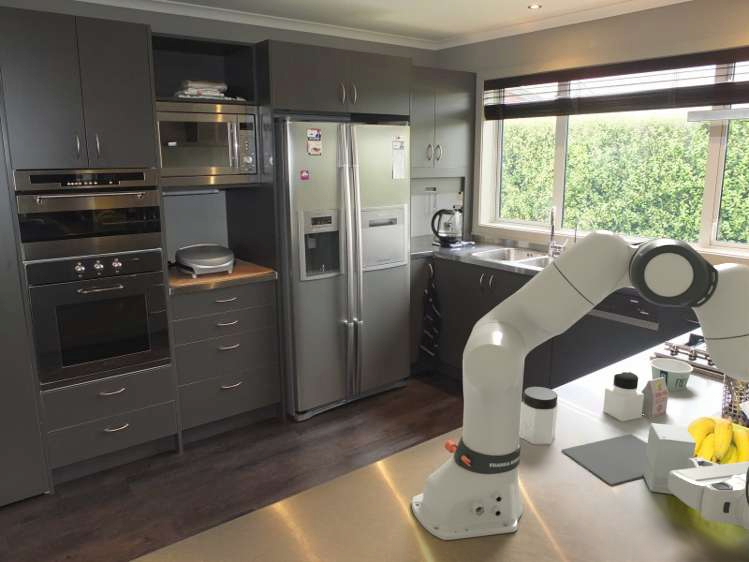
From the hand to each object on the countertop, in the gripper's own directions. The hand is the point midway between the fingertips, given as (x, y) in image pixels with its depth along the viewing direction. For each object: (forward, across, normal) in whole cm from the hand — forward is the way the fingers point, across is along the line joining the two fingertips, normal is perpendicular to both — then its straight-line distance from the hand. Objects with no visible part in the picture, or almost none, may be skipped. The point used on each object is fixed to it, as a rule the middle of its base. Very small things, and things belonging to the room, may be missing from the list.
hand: (693, 460), depth 118 cm
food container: (+56, -40, +10) cm, 70 cm away
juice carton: (+39, -22, +10) cm, 46 cm away
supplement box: (+7, 0, +10) cm, 12 cm away
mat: (+19, +2, +10) cm, 21 cm away
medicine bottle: (+40, -13, +10) cm, 43 cm away
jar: (+33, +17, +10) cm, 38 cm away
